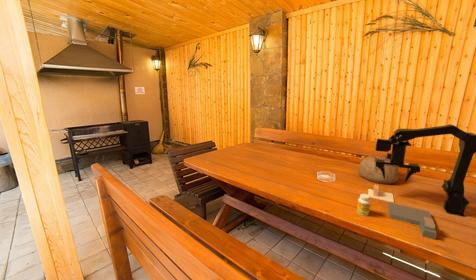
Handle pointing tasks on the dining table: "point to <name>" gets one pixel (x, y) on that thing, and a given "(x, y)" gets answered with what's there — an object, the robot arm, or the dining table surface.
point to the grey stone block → (428, 223)
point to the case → (411, 217)
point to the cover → (380, 194)
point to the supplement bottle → (363, 205)
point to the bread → (378, 170)
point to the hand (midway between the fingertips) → (394, 180)
